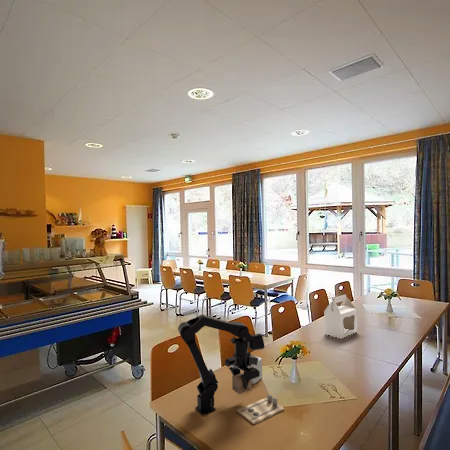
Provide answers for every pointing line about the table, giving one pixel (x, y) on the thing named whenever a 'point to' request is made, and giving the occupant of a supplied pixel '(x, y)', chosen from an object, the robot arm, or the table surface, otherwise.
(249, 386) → the upright wooden block
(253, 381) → the small box
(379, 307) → the table surface
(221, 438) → the table surface
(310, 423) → the table surface
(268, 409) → the guide board
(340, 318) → the gable box
